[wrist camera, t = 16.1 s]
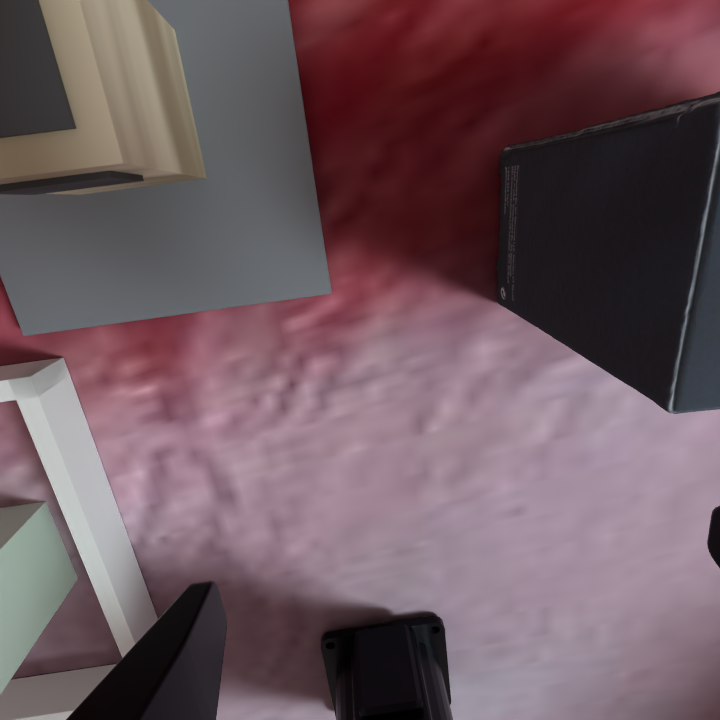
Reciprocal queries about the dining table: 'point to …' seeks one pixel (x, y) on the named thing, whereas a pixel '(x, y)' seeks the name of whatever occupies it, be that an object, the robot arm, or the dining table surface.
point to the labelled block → (92, 99)
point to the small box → (622, 247)
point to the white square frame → (75, 532)
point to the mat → (187, 196)
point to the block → (29, 580)
